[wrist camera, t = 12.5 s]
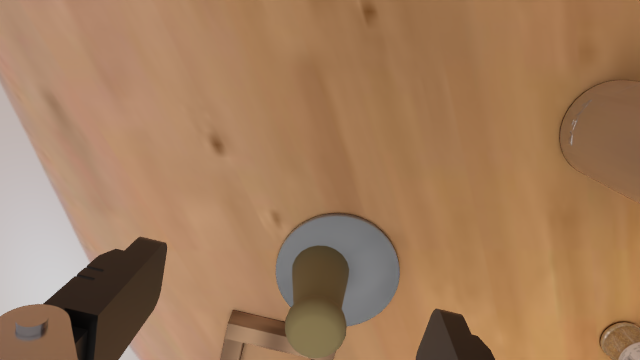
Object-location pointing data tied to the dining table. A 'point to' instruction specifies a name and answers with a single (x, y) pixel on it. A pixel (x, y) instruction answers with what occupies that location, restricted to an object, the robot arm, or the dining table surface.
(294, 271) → the cork
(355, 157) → the dining table surface
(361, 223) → the slate coaster
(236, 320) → the holder board
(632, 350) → the sprinkles bottle
